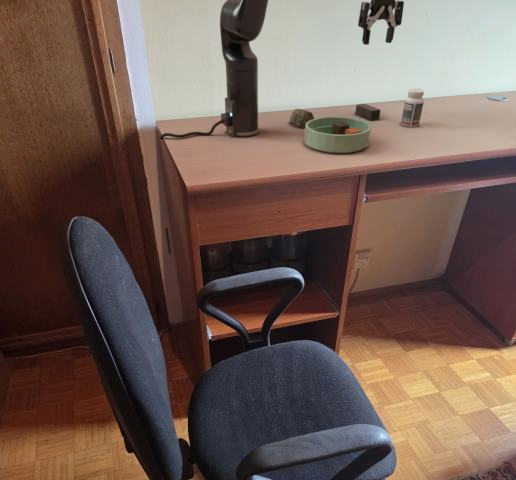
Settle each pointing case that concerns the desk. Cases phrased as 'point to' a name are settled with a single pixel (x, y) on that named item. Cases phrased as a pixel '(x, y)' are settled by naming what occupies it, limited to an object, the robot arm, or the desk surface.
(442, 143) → the desk surface
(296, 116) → the rock
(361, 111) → the black rectangular block
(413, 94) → the pill bottle
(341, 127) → the walnut block
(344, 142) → the bowl
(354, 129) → the terracotta block
